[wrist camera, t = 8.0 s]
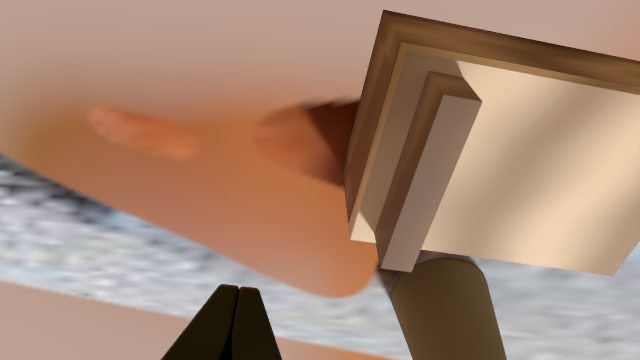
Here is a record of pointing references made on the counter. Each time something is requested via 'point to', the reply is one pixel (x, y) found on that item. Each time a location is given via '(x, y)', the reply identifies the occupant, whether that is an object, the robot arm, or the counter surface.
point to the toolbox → (467, 42)
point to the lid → (501, 165)
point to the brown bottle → (447, 312)
